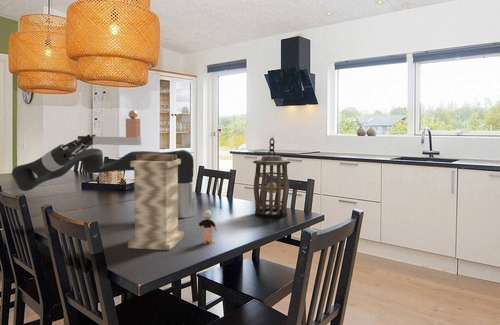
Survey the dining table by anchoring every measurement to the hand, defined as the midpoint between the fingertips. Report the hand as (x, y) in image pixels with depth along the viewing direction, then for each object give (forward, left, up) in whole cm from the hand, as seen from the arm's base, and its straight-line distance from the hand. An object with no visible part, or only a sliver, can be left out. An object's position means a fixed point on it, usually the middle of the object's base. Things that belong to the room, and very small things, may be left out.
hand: (93, 136), depth 145 cm
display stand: (-20, +16, -41) cm, 48 cm away
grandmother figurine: (-36, +27, -41) cm, 60 cm away
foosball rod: (-5, +4, -3) cm, 7 cm away
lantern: (-86, +1, -41) cm, 95 cm away
